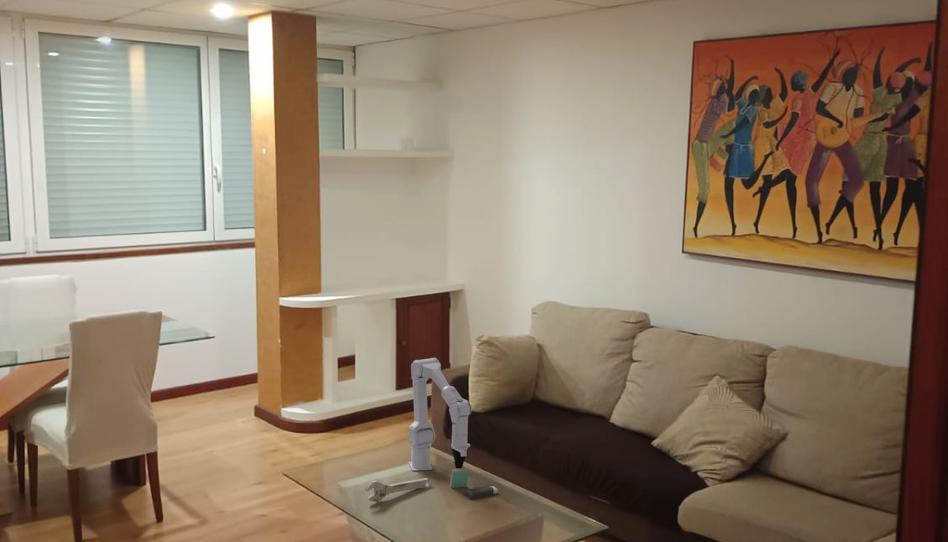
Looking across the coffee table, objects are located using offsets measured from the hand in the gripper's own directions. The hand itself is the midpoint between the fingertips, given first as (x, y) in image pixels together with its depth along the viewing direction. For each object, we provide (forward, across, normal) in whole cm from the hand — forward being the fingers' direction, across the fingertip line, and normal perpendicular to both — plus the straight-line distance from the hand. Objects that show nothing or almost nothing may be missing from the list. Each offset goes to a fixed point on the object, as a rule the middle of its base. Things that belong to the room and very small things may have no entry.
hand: (458, 468), depth 302 cm
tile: (+3, -1, 0) cm, 3 cm away
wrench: (+7, -4, +23) cm, 24 cm away
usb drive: (+8, -8, -7) cm, 13 cm away
